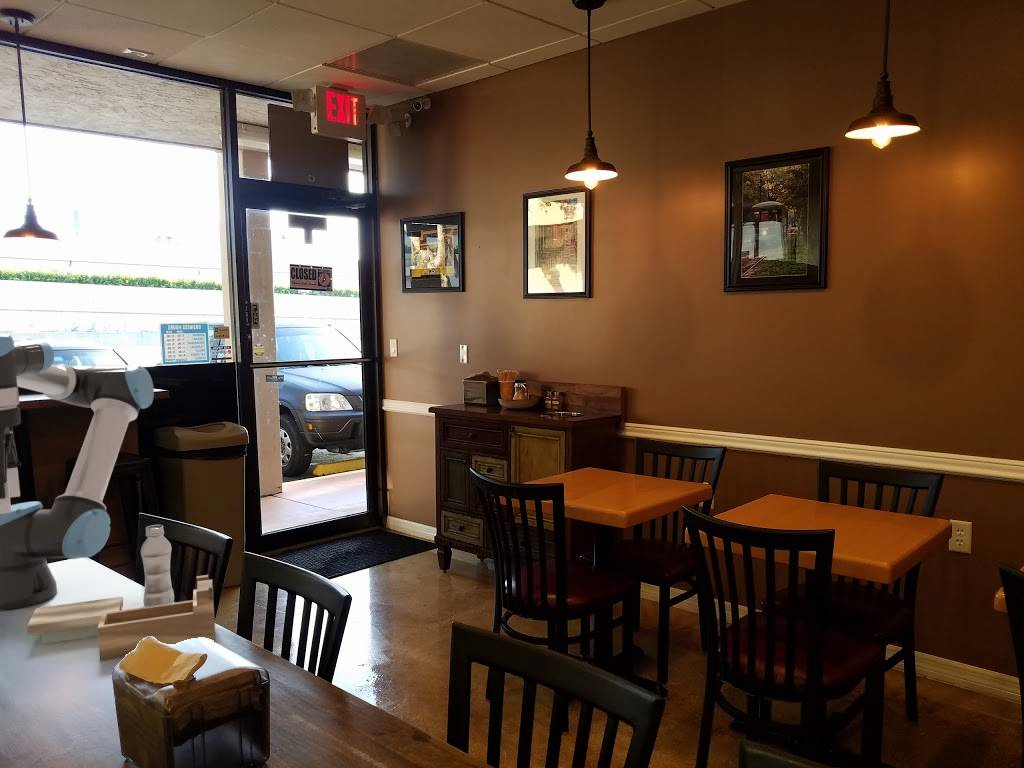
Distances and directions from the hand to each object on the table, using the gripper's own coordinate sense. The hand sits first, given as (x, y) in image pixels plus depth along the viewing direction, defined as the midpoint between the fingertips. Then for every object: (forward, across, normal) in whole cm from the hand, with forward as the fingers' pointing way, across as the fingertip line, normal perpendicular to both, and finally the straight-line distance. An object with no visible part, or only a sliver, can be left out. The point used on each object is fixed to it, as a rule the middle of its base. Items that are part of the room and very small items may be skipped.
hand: (8, 504), depth 168 cm
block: (+20, +20, +37) cm, 47 cm away
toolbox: (+29, +20, +28) cm, 45 cm away
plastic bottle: (+30, 0, +28) cm, 41 cm away
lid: (+26, +6, +12) cm, 29 cm away
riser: (+29, +6, +12) cm, 32 cm away
